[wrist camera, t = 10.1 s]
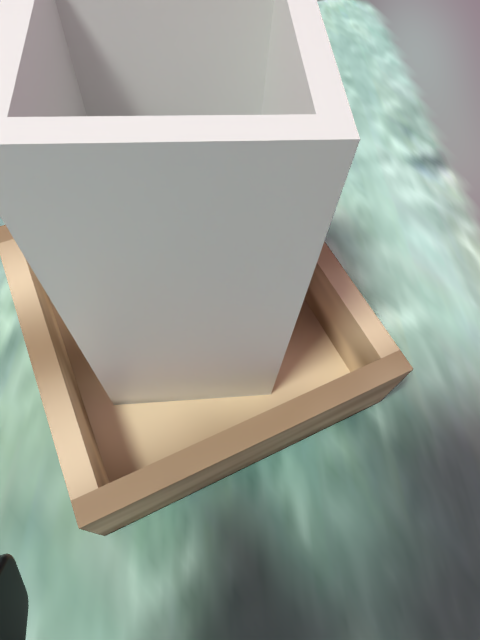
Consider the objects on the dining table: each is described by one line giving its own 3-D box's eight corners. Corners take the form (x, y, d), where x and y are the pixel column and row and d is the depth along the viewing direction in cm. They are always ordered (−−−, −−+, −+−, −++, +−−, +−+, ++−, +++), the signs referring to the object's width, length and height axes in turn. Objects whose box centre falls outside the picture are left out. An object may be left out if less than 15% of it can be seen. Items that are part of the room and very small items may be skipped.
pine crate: (379, 401, 19) (413, 369, 15) (104, 535, 16) (78, 528, 13) (254, 204, 23) (260, 150, 20) (25, 279, 20) (-8, 228, 17)
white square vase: (270, 394, 18) (359, 138, 7) (113, 405, 17) (-43, 145, 7) (254, 268, 20) (301, -49, 10) (119, 273, 20) (17, -56, 9)
